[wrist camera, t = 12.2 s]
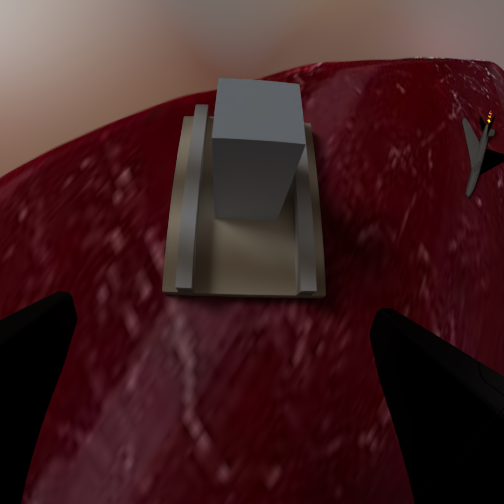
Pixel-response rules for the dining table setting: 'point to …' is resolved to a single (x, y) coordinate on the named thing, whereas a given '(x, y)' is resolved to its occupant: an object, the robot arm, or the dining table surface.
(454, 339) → the dining table surface
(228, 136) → the block
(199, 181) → the rail
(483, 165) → the toy airplane
